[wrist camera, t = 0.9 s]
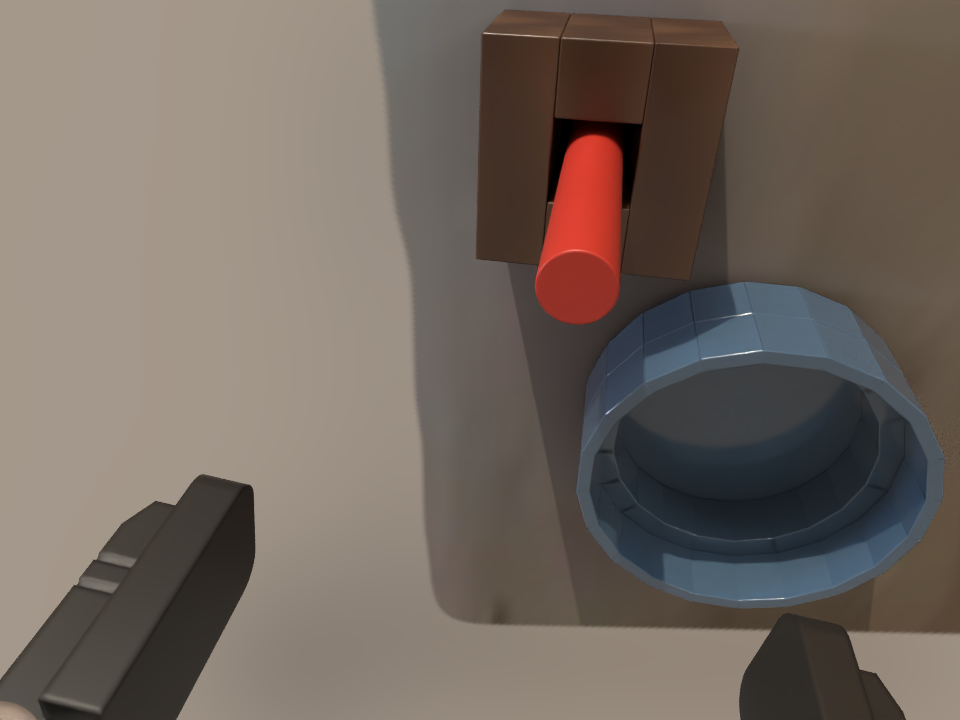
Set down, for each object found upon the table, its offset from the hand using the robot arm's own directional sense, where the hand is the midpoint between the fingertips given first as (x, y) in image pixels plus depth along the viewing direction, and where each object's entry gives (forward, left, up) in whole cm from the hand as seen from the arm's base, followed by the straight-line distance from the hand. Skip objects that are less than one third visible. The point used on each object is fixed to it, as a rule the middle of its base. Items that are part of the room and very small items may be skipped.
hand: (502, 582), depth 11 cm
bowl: (-9, +12, -22) cm, 27 cm away
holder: (-1, -1, -22) cm, 22 cm away
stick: (-1, -1, -22) cm, 22 cm away
